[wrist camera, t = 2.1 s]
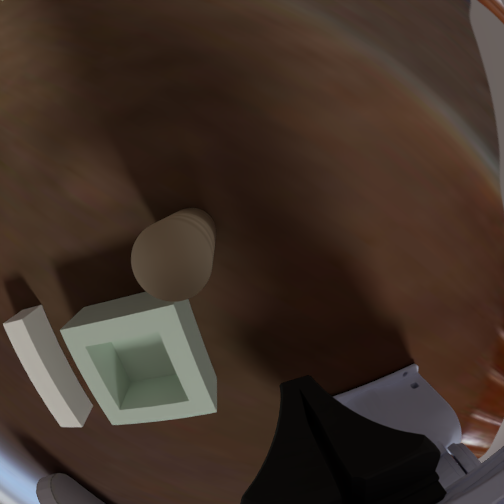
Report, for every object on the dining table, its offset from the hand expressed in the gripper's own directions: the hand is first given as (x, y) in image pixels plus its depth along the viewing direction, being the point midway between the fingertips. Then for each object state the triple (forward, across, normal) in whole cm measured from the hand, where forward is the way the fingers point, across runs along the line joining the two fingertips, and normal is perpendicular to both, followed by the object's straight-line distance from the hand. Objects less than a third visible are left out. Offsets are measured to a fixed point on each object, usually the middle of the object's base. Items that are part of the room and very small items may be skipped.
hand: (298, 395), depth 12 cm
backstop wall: (+9, +18, 0) cm, 20 cm away
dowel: (+9, +4, -7) cm, 12 cm away
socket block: (+9, +9, 0) cm, 13 cm away
